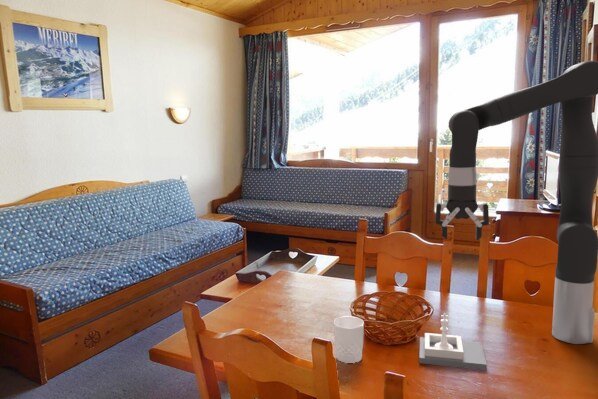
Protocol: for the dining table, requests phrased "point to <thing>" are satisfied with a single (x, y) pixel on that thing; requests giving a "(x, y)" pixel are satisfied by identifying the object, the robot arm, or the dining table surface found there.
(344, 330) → the white cup
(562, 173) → the robot arm
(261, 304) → the dining table surface
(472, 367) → the socket board
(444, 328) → the chess piece
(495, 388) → the dining table surface
